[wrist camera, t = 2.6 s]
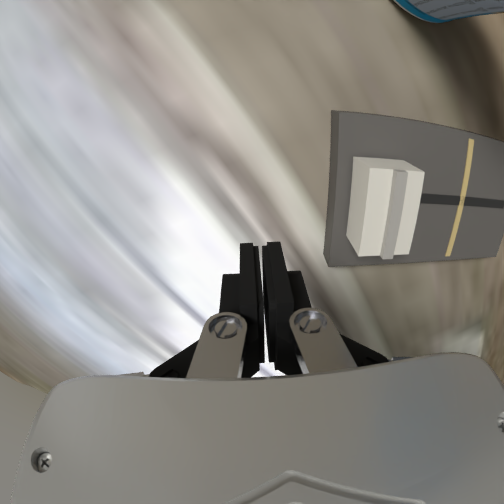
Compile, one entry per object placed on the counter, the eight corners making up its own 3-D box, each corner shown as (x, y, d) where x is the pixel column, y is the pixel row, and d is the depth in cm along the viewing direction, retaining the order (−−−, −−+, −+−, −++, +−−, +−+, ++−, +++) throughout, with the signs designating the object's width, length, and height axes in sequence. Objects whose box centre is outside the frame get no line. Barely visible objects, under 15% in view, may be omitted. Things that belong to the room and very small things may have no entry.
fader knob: (403, 160, 18) (428, 174, 15) (392, 234, 21) (411, 257, 18) (353, 156, 18) (373, 170, 15) (346, 235, 21) (360, 260, 18)
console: (509, 143, 18) (522, 148, 16) (486, 247, 24) (496, 257, 23) (331, 110, 19) (339, 112, 17) (323, 254, 25) (328, 267, 23)
